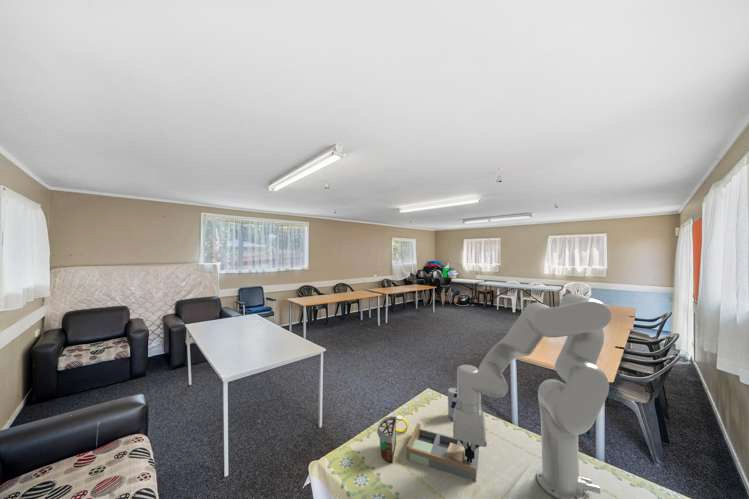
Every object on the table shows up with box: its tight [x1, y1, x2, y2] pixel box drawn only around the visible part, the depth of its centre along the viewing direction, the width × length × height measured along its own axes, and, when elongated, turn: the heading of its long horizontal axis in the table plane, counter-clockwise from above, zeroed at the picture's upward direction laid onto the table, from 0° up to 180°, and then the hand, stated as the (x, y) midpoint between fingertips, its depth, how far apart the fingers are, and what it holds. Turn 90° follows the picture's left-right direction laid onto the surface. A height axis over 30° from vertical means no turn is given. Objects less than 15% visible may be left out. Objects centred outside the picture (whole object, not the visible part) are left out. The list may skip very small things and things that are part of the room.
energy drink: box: [447, 387, 457, 421], centre depth 117 cm, size 5×5×12 cm
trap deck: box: [406, 422, 480, 482], centre depth 95 cm, size 23×14×4 cm, turn 65°
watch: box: [395, 414, 409, 434], centre depth 109 cm, size 6×3×6 cm, turn 75°
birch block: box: [447, 443, 465, 463], centre depth 91 cm, size 5×5×3 cm
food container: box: [376, 416, 397, 464], centre depth 97 cm, size 12×6×10 cm, turn 168°
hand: (469, 459), depth 89 cm, fingers closed
